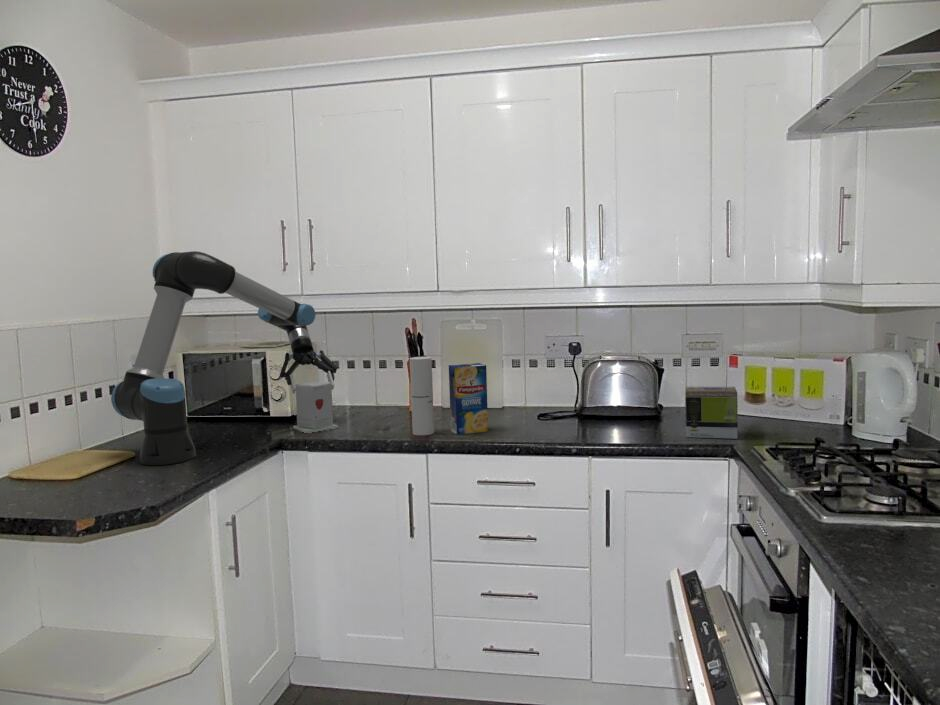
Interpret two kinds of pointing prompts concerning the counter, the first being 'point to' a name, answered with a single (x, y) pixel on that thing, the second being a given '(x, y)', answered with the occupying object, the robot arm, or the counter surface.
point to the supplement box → (314, 404)
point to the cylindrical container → (422, 395)
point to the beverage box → (468, 398)
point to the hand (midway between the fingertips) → (313, 389)
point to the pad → (310, 430)
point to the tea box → (711, 412)
